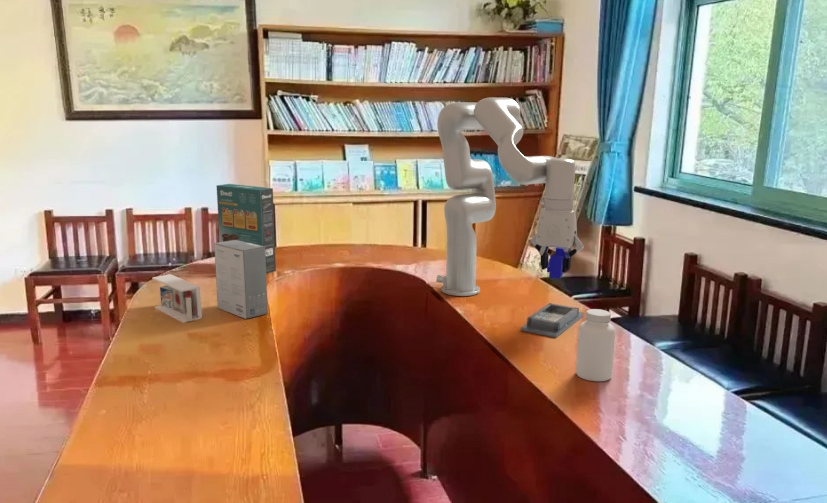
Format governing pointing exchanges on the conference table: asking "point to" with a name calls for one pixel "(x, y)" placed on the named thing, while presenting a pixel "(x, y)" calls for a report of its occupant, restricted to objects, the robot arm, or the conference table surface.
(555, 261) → the cable clip
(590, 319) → the pill bottle
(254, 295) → the hard drive box
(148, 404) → the conference table surface
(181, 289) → the cigarette display
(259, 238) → the cake mix box
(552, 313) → the grey rectangular tray
